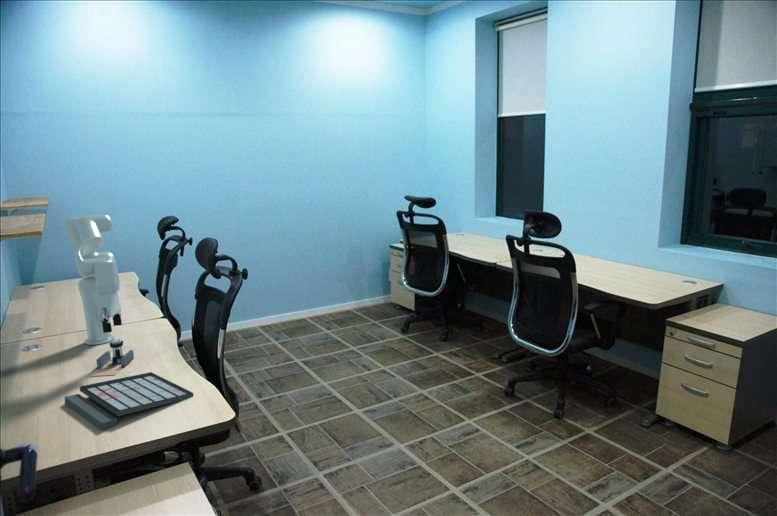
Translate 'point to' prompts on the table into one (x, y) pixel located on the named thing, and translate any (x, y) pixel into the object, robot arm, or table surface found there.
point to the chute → (106, 357)
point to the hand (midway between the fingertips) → (112, 328)
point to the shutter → (124, 397)
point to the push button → (116, 350)
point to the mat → (105, 372)
